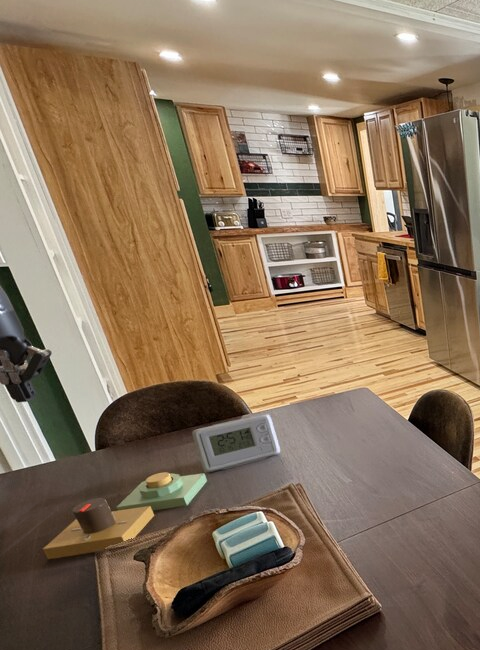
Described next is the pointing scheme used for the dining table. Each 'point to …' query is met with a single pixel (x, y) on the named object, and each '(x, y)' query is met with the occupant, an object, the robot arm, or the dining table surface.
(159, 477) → the bell button
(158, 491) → the block
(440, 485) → the dining table surface
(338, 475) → the dining table surface
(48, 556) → the lock plate
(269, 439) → the digital clock
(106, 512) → the lock turn
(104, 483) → the dining table surface
